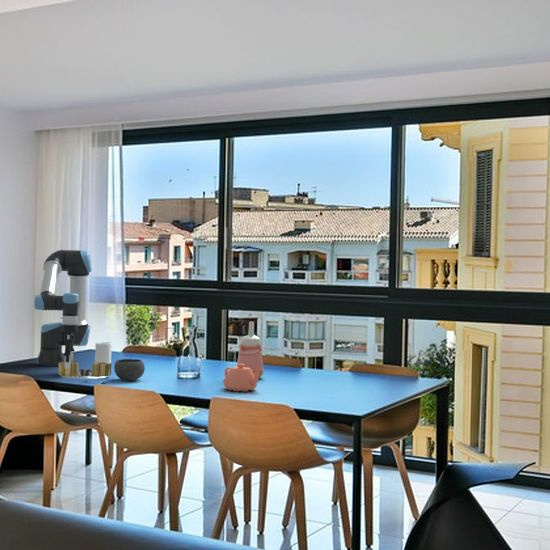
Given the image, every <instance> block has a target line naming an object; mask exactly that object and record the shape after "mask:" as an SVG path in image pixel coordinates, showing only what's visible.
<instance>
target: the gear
mask: <svg viewBox="0 0 550 550" xmlns="http://www.w3.org/2000/svg"><path fill="white" fill-rule="evenodd" d="M79 364H80V363H79V362H78V361H73V362H70V369H64V368H65V362H61V363H59V366H58V368H57V369H58V371H57V372H58V374H57V375H58V376H60V377H62V376H76V375H78V372H79Z"/></svg>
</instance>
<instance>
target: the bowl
mask: <svg viewBox="0 0 550 550" xmlns="http://www.w3.org/2000/svg"><path fill="white" fill-rule="evenodd" d="M113 369H114V374H115V375H116V376H117V377H118V378H119V379H120V380H123V381H125V382H126V381H127V382H132V381H133V382H134V381H136V380H139V379H140V378H141V377H143V375H144V373H145V371H146V370H145V363H144V361H143V360H142V359H138V358H121V359H117V360H116V361H115V362H114V367H113Z"/></svg>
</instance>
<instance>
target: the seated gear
mask: <svg viewBox="0 0 550 550" xmlns="http://www.w3.org/2000/svg"><path fill="white" fill-rule="evenodd" d="M90 368H91V371H90V372H91V375H92V376H101V377H103V378H105V377H104V376H108V377H110V376H112V362H111V363H108V362H95V361H94V362H91V367H90Z"/></svg>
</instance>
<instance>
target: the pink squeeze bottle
mask: <svg viewBox="0 0 550 550" xmlns="http://www.w3.org/2000/svg"><path fill="white" fill-rule="evenodd" d="M239 345H240V346H239V350H238V357H237V362H236V367H238V364H244V367H248V368H250V369H251V370H252V371H253V373H254V375H255V371H256V369H257V368H261V367H262V368H261V369H260V371H259V377H260V378H261V376H262V377H263V376H264V361H263V351H262V341H261V338H260V337H259V336H257V335H255V322H254V321H249V322H248V334H247V335H244V336H243V337H242V338H241V340H240V344H239Z"/></svg>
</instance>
